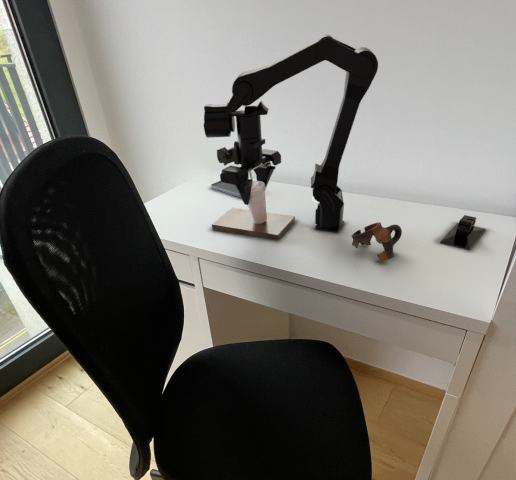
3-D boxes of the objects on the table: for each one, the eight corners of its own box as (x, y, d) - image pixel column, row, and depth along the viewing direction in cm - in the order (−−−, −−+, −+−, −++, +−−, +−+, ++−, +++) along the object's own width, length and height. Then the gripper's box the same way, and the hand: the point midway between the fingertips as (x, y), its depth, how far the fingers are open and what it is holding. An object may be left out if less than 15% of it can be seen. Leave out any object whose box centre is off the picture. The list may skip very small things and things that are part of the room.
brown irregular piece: (372, 270, 93) (358, 237, 90) (353, 268, 102) (341, 238, 99) (415, 245, 94) (403, 212, 91) (393, 245, 103) (382, 215, 100)
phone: (209, 187, 136) (242, 198, 128) (209, 184, 136) (242, 195, 127) (226, 181, 140) (259, 191, 131) (226, 178, 140) (259, 188, 131)
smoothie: (271, 212, 113) (262, 162, 103) (271, 224, 108) (261, 173, 99) (249, 216, 114) (237, 167, 104) (248, 228, 110) (235, 178, 100)
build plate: (469, 250, 96) (474, 232, 93) (438, 243, 100) (442, 225, 97) (485, 230, 103) (491, 212, 100) (456, 223, 107) (460, 206, 103)
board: (295, 221, 113) (295, 216, 112) (278, 240, 106) (277, 235, 105) (232, 212, 121) (232, 207, 120) (212, 229, 113) (211, 224, 112)
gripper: (245, 123, 106) (250, 183, 116) (198, 142, 95) (207, 207, 105) (281, 127, 101) (282, 190, 111) (235, 148, 90) (241, 215, 100)
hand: (253, 200), depth 107 cm, fingers closed on smoothie, 6 cm apart
